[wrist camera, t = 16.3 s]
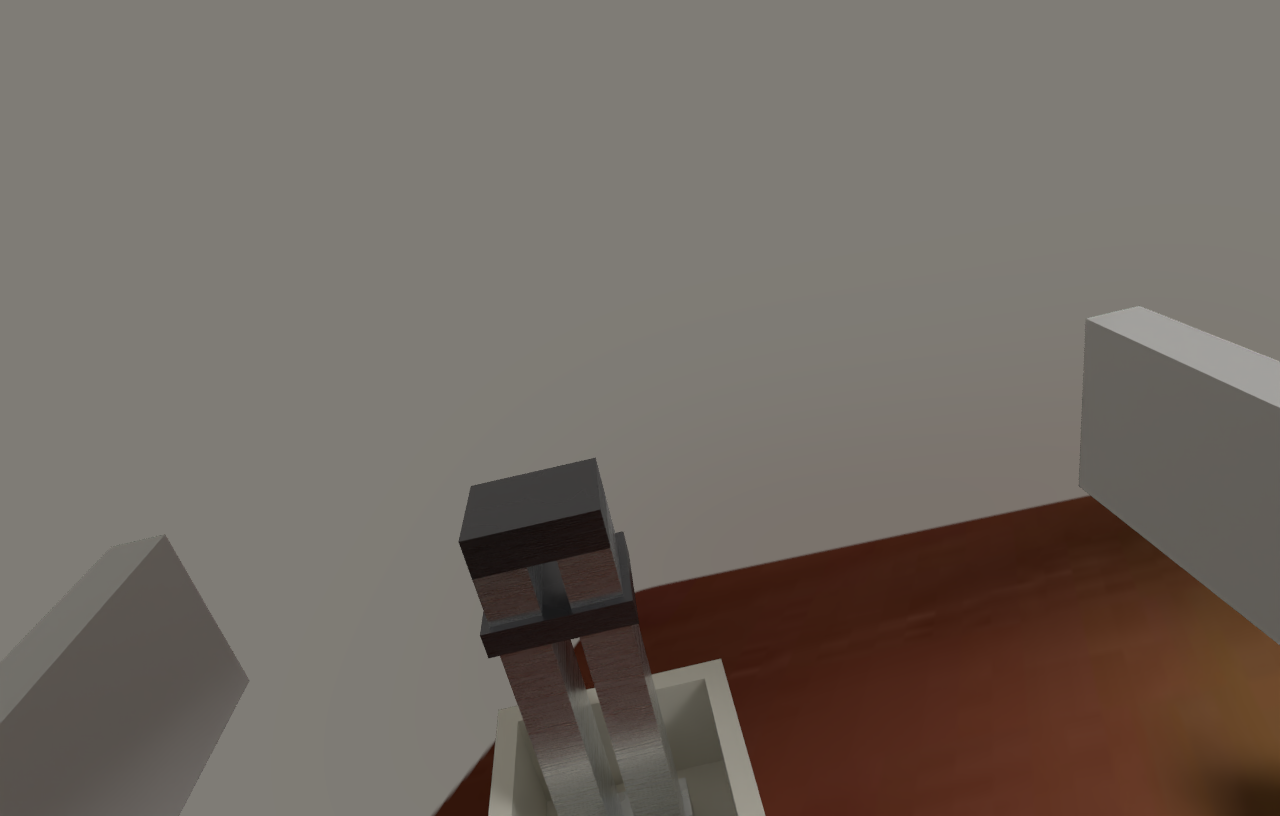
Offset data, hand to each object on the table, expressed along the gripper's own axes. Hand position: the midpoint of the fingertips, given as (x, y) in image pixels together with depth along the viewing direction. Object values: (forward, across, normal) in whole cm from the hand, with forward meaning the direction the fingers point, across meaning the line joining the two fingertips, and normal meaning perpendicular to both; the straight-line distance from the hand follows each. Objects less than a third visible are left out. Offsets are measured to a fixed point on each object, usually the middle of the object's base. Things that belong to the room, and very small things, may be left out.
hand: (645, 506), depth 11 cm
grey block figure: (+13, -4, -26) cm, 29 cm away
